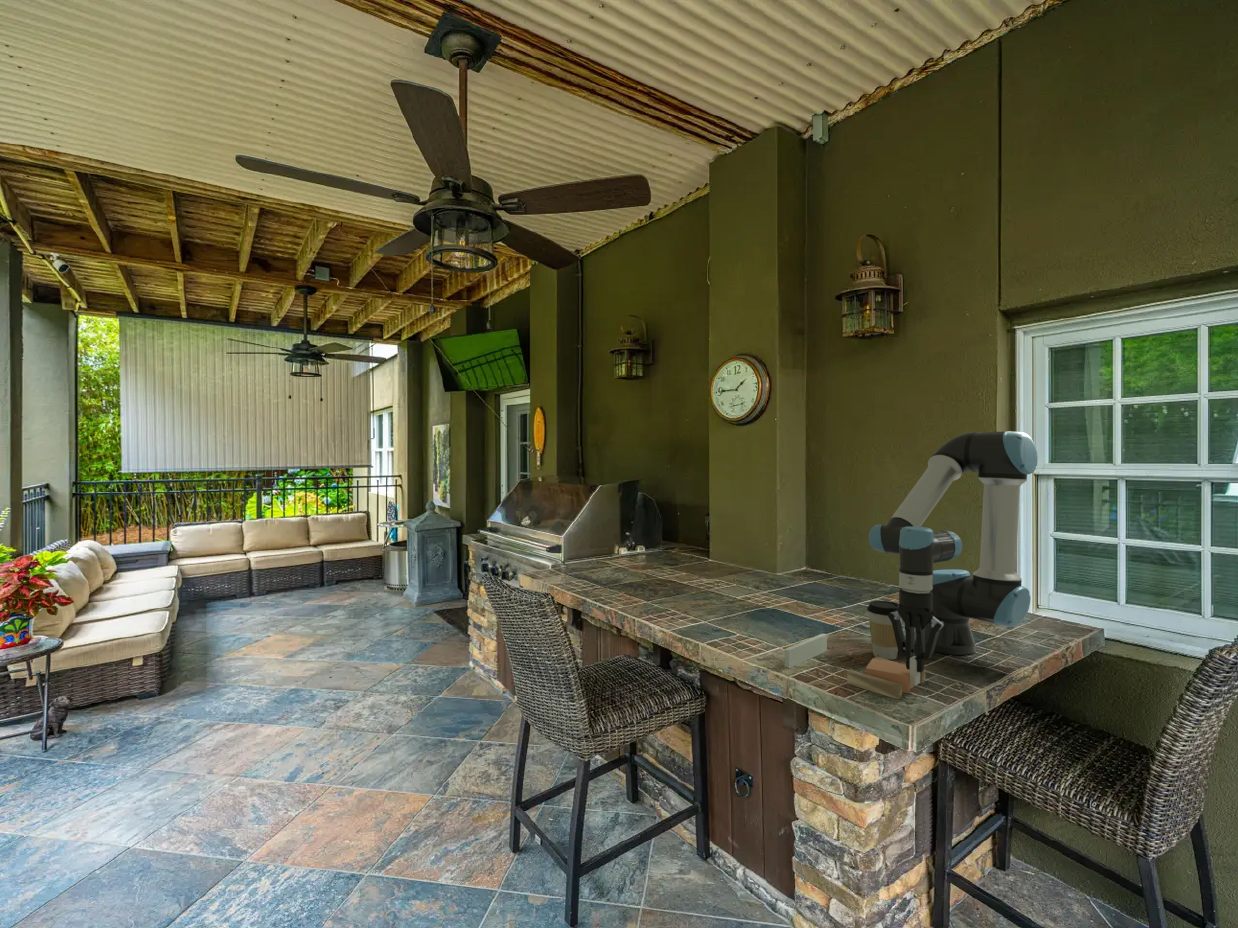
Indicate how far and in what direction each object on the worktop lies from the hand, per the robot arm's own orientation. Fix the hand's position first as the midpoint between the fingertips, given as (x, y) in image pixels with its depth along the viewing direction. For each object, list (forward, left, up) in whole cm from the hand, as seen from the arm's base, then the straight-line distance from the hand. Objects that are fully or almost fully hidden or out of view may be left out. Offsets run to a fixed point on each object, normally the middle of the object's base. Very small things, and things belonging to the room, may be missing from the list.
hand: (914, 683), depth 150 cm
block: (0, -6, -2) cm, 7 cm away
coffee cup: (-19, -16, -2) cm, 25 cm away
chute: (0, -7, -2) cm, 7 cm away
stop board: (0, -30, -2) cm, 30 cm away
